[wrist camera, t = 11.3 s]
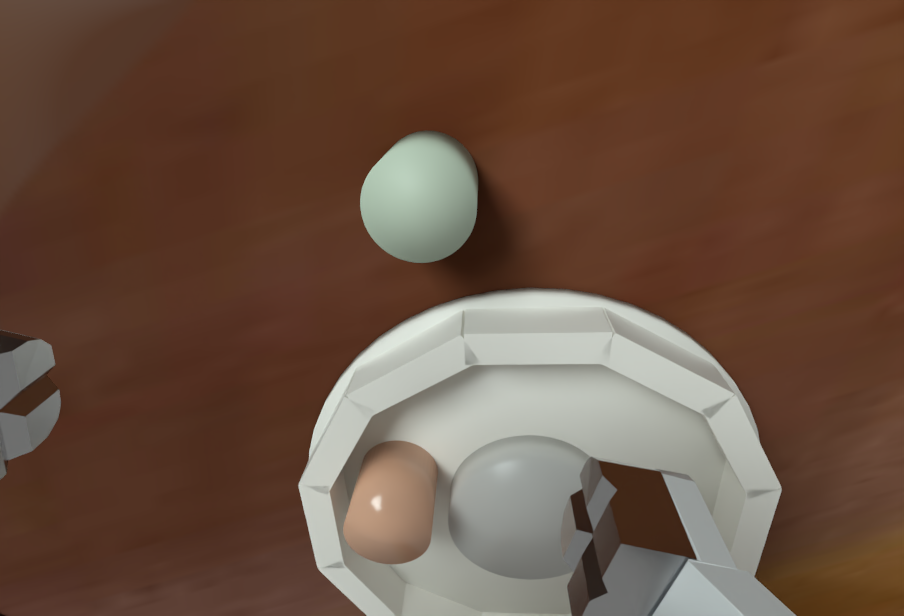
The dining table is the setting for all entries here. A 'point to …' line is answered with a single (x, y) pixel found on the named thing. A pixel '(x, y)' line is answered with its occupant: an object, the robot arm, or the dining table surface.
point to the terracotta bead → (392, 503)
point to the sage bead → (421, 197)
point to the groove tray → (528, 394)
